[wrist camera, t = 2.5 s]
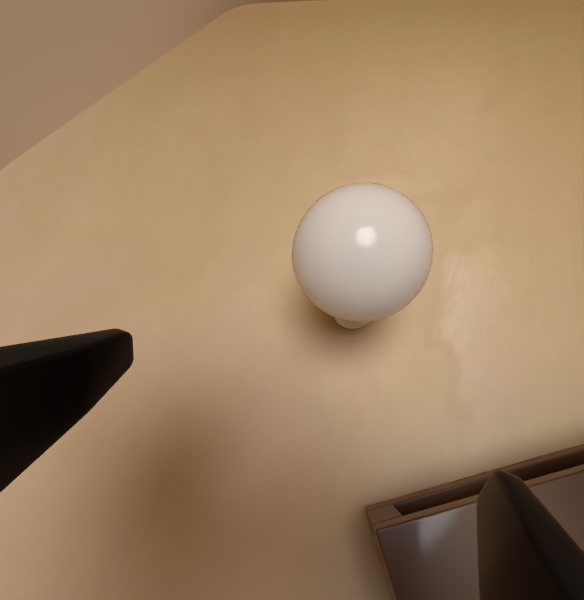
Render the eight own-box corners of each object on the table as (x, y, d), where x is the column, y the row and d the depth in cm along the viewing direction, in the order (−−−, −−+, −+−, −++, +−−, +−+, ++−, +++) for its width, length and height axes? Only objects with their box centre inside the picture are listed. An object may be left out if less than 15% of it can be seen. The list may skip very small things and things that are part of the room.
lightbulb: (335, 259, 24) (335, 131, 14) (415, 298, 22) (482, 182, 12) (288, 328, 22) (251, 238, 12) (370, 377, 20) (405, 318, 10)
